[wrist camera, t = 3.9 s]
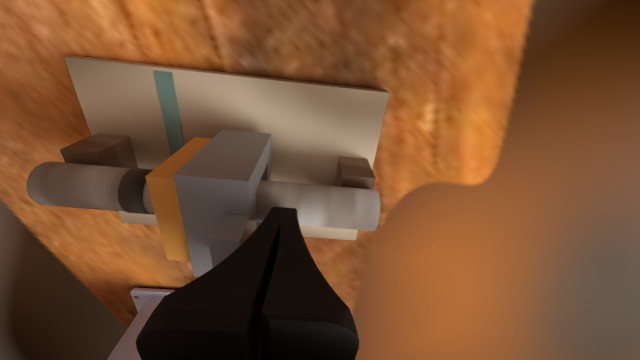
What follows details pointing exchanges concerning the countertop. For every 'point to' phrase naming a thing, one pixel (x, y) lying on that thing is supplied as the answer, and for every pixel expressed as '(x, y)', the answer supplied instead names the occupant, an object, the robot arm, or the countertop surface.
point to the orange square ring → (172, 200)
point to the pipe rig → (206, 122)
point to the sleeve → (222, 194)
